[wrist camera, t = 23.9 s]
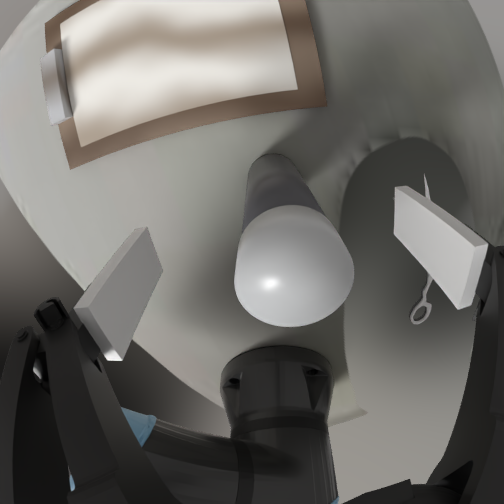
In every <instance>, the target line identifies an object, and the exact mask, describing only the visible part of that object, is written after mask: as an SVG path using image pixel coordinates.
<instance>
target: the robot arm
mask: <svg viewBox="0 0 504 504" xmlns="http://www.w3.org/2000/svg"><path fill="white" fill-rule="evenodd" d="M394 235H395V236H396V237H397V238H398V239H399V240H400V241H401V242H402V243H403V245H404V246H405V247H406V248H407V249H408V250H409V251H410V252H411V254H412V255H413V256H414V257H415V258H416V259H417V260H418V261H419V263H420V264H421V265H422V266H423V267H424V268H425V269H426V271H427V272H428V273H429V274H430V275H431V277H432V278H433V279H434V280H435V281H436V283H437V284H438V285H439V286H440V288H441V289H442V290H443V291H444V293H445V294H446V295H447V296H448V298H449V299H450V300H451V301H452V303H453V304H454V305H455V307H456V308H457V309H458V310H459V309H462V308H465V307H467V306H470V305H471V304H472V301H473V298H474V295H475V292H476V294H477V295H478V296H479V297H480V300H479V303H478V306H477V308H476V311H475V314H474V316H473V319H472V320H473V321H474V320H475V318H476V317H477V318H476V328H475V336H474V344H473V351H472V357H471V362H470V368H469V373H468V378H467V382H466V387H465V391H464V395H463V399H462V402H461V406H460V410H459V413H458V416H457V420H456V423H455V426H454V429H453V432H452V435H451V438H450V440H449V443H448V446H447V448H446V451H445V453H444V456H443V457H442V459H441V461H440V462H439V463H438V465H437V466H436V468H435V469H434V471H433V473H432V474H431V476H430V477H429V479H428V481H427V483H426V484H413V485H411V482H410V479H408V480H405V481H403V482H399V483H397V484H394V485H391V486H387V487H384V488H381V489H378V490H374V491H371V492H367V493H364V494H362V495H360V496H358V497H356V498H354V499H352V500H349V501H347V502H345V503H343V504H504V246H497V247H494V246H493V245H491V244H490V243H489V242H488V241H487V240H485V239H484V238H483V237H482V236H480V235H478V233H476V232H475V231H473V230H472V229H471V228H470V227H469V226H467V225H466V224H464V223H461V222H460V221H459V220H457V219H456V218H455V217H453V216H452V215H450V214H449V213H448V212H446V211H445V210H443V209H442V208H440V207H439V206H438V205H436V204H435V203H433V202H432V201H430V200H429V199H427V198H426V197H424V196H422V195H421V194H419V193H418V192H416V191H415V190H413V189H411V188H410V187H408V186H399V187H395V217H394ZM162 272H163V269H162V266H161V264H160V261H159V258H158V256H157V253H156V250H155V248H154V245H153V242H152V239H151V237H150V234H149V231H148V228H147V227H144V228H139V229H135V230H134V231H133V232H132V233H131V235H130V236H129V237H128V238H127V239H126V240H125V242H124V243H123V244H122V245H121V246H120V248H119V249H118V250H117V251H116V253H115V254H114V255H113V256H112V258H111V259H110V260H109V261H108V263H107V264H106V265H105V266H104V268H103V269H102V270H101V271H100V273H99V274H98V275H97V277H96V278H95V279H94V281H93V282H92V283H91V284H90V285H89V286H88V288H87V289H86V290H85V293H83V294H82V296H81V298H80V299H79V300H78V301H77V303H76V304H75V306H74V307H73V308H72V310H71V311H70V313H69V314H68V313H67V311H66V310H65V308H64V306H63V304H62V303H61V301H60V299H59V298H58V297H53V298H50V299H48V300H46V301H44V302H43V303H42V304H40V305H39V307H38V308H37V309H36V310H35V312H34V316H35V318H36V319H37V321H38V323H39V324H40V326H41V327H42V328H43V330H44V331H45V332H44V333H41V334H37V333H36V331H35V330H34V329H33V327H32V326H27V327H24V328H22V329H20V330H19V331H18V332H17V334H16V335H15V337H14V339H13V341H12V344H11V347H10V350H9V353H8V357H7V360H6V364H5V367H4V371H3V375H2V378H1V382H0V504H338V501H339V496H338V491H337V483H336V476H335V470H334V463H333V457H332V450H331V444H330V438H329V432H328V424H327V420H328V415H329V410H330V405H331V399H332V394H333V388H334V379H333V374H332V370H331V366H330V364H329V362H328V361H327V360H326V359H325V358H324V357H323V356H321V355H320V354H318V353H316V352H313V351H311V350H307V349H303V348H298V347H289V346H277V347H267V348H261V349H257V350H253V351H250V352H247V353H244V354H242V355H240V356H238V357H236V358H234V359H233V360H232V361H230V362H229V363H228V364H227V365H226V366H225V368H224V369H223V371H222V375H221V383H220V393H221V397H222V401H223V404H224V407H225V411H226V414H227V417H228V421H229V424H230V427H231V436H230V438H227V437H222V436H217V435H213V434H208V433H204V432H200V431H196V430H192V429H189V428H185V427H181V426H178V425H174V424H171V423H168V422H164V421H162V420H159V419H156V417H155V416H152V415H148V416H147V415H143V414H140V413H137V412H134V411H131V410H128V409H125V408H122V407H120V405H119V403H118V400H117V398H116V396H115V394H114V392H113V389H112V387H111V385H110V383H109V380H108V378H107V375H106V373H105V370H104V367H103V365H102V363H101V361H100V360H99V359H98V355H99V353H100V351H101V352H102V353H103V354H104V356H105V357H106V358H107V360H112V361H123V358H124V356H125V354H126V351H127V349H128V346H129V344H130V341H131V339H132V337H133V335H134V332H135V330H136V328H137V326H138V323H139V321H140V319H141V317H142V314H143V312H144V310H145V308H146V306H147V303H148V301H149V299H150V297H151V295H152V293H153V291H154V288H155V286H156V284H157V282H158V280H159V278H160V276H161V274H162ZM33 371H34V372H35V373H36V374H37V376H38V377H39V378H40V379H39V382H37V381H36V380H35V377H34V374H33ZM68 466H69V469H70V472H71V476H70V479H69V472H68Z"/></svg>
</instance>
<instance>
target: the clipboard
mask: <svg viewBox="0 0 504 504" xmlns="http://www.w3.org/2000/svg"><path fill="white" fill-rule="evenodd" d="M45 37H46V51H47V54H46V55H44V56H43V57H41V58H40V62H41V71H42V79H43V86H44V92H45V98H46V104H47V109H48V114H49V119H50V123H51V126H53V125H57V124H58V125H59V130H60V134H61V138H62V142H63V146H64V149H65V153H66V156H67V160H68V163H69V167H70V170H71V169H73V168H75V167H78V166H80V165H82V164H85V163H87V162H90V161H92V160H95V159H97V158H100V157H102V156H105V155H108V154H110V153H113V152H116V151H118V150H121V149H124V148H127V147H130V146H133V145H136V144H139V143H142V142H145V141H148V140H151V139H155V138H158V137H161V136H165V135H168V134H172V133H176V132H179V131H183V130H187V129H191V128H195V127H199V126H203V125H207V124H212V123H216V122H221V121H226V120H231V119H236V118H241V117H247V116H252V115H258V114H265V113H271V112H278V111H286V110H294V109H303V108H313V107H325V106H327V101H326V95H325V89H324V83H323V77H322V72H321V67H320V62H319V57H318V52H317V47H316V43H315V38H314V34H313V29H312V25H311V21H310V17H309V13H308V10H307V6H306V2H305V0H80V1H78V2H76V3H75V4H73V5H71V6H70V7H68V8H67V9H65V10H64V11H62V12H61V13H59V14H58V15H56V16H55V17H53V18H52V19H50V20H49V21H48V22H46V23H45Z"/></svg>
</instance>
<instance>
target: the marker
mask: <svg viewBox="0 0 504 504" xmlns="http://www.w3.org/2000/svg"><path fill="white" fill-rule="evenodd" d="M353 281H354V264H353V261H352V258H351V256H350V254H349V252H348V250H347V248H346V246H345V244H344V243H343V241H342V239H341V237H340V236H339V234H338V232H337V231H336V229H335V227H334V226H333V224H332V223H331V222H330V221H329V220H328V219H327V218H326V216H325V215H324V213H323V211H322V210H321V208H320V206H319V204H318V203H317V201H316V199H315V198H314V196H313V194H312V193H311V191H310V189H309V188H308V186H307V185H306V183H305V181H304V180H303V178H302V177H301V175H300V173H299V172H298V170H297V169H296V167H295V165H294V164H293V163H292V162H291V161H290V160H289V159H288V158H286V157H284V156H282V155H279V154H267V155H264V156H262V157H260V158H258V159H257V160H256V161H255V162H254V163H253V164H252V166H251V168H250V170H249V173H248V181H247V190H246V200H245V209H244V219H243V228H242V235H241V238H240V241H239V245H238V252H237V260H236V269H235V279H234V285H235V291H236V295H237V297H238V299H239V301H240V303H241V304H242V306H243V307H244V308H245V309H246V310H247V311H248V312H249V313H250V314H251V315H252V316H254V317H255V318H257V319H259V320H261V321H263V322H265V323H268V324H271V325H275V326H282V327H297V326H304V325H308V324H312V323H314V322H317V321H319V320H321V319H324V318H325V317H327V316H329V315H330V314H331V313H333V312H334V311H335V310H336V309H338V308H339V307H340V306H341V304H342V303H343V302H344V301H345V299H346V298H347V296H348V295H349V292H350V291H351V288H352V285H353Z"/></svg>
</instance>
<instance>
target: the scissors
mask: <svg viewBox="0 0 504 504" xmlns="http://www.w3.org/2000/svg"><path fill="white" fill-rule="evenodd" d="M424 179H425V191H426V198H427V199H429V200H430V195H429V189H428V185H427V182H426V178H425V175H424ZM393 199H394V198H393ZM394 200H395V199H394ZM430 201H431V200H430ZM432 280H433V278H432V277H431V275H430V274H429V273H428V272H427V271H426V281H425V284H424V285H423V287H422V288H421V297H420V298H419V299H418V301H417V302H416V303H415V304H414V305H413V306H412V308H411V310H410V312H409V318H410V320H411V322H412V323H413V324H420V323H422V322H423V321H424V320H426V318H427V317H428V316H429V313H430V311H431V306H432V305H431V303H430V302H429V301H427V300H426V293H427V291H428V289H429V286H430V284H431V282H432ZM421 306H425V311H424V313H423V315H422V316H420V317H419V318H417V319H414V318H413V316H414V314H415V312H416V310H417V309H419V308H420V307H421Z"/></svg>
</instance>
